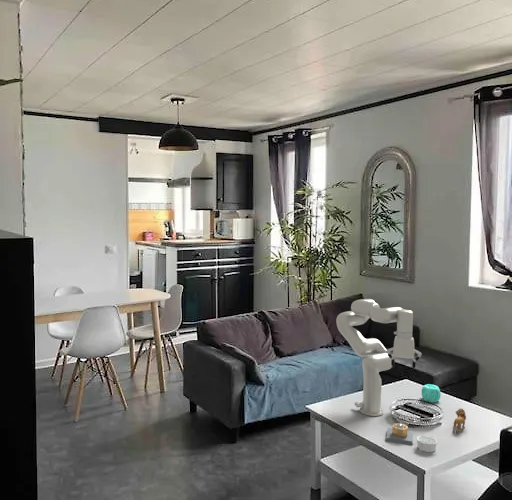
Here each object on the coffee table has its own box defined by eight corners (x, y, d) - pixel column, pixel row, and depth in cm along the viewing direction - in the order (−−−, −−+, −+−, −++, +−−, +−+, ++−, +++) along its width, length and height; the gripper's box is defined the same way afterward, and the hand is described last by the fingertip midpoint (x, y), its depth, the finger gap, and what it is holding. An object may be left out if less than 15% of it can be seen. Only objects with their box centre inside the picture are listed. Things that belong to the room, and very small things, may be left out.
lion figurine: (455, 423, 276) (455, 406, 275) (466, 425, 274) (466, 408, 273) (451, 433, 263) (452, 416, 262) (463, 436, 261) (464, 418, 260)
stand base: (386, 440, 254) (386, 437, 254) (387, 430, 265) (387, 427, 265) (412, 444, 250) (412, 441, 250) (412, 434, 262) (413, 431, 262)
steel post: (395, 435, 256) (395, 425, 256) (395, 432, 260) (396, 422, 260) (404, 436, 255) (404, 426, 255) (404, 433, 259) (404, 423, 259)
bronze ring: (392, 436, 255) (392, 428, 255) (392, 430, 262) (393, 422, 262) (407, 438, 253) (407, 430, 253) (407, 432, 260) (407, 424, 260)
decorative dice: (434, 397, 313) (434, 384, 312) (440, 402, 305) (441, 388, 304) (421, 397, 312) (421, 384, 311) (427, 402, 304) (427, 389, 303)
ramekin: (426, 443, 252) (426, 434, 252) (440, 450, 245) (441, 441, 244) (412, 446, 248) (412, 437, 248) (426, 454, 240) (427, 445, 240)
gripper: (386, 334, 266) (385, 368, 268) (422, 338, 261) (421, 372, 262) (387, 331, 273) (386, 364, 275) (422, 334, 268) (421, 367, 270)
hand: (403, 368), depth 269 cm, fingers open, 9 cm apart
